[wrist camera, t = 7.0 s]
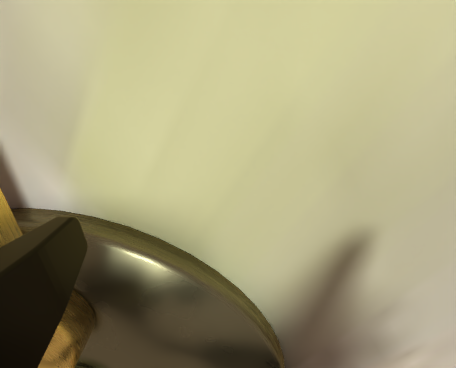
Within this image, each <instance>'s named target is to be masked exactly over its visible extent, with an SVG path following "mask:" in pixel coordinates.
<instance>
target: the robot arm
mask: <svg viewBox="0 0 456 368" xmlns="http://www.w3.org/2000/svg"><path fill="white" fill-rule="evenodd" d="M87 248H88V245H87V240H86V238H85V235H84V232H83V229H82V227H81V224H80V221H79V219H78V218H77V217H75V216H57V217H55V218H53V219H52V220H50V221H48V222H46V223H44V224H42V225H40V226H39V227H37V228H35V229H33V230H31V231H29V232H27V233H26V234H24V235H22V236H20V237H18V238H16V239H15V240H13V241H11V242H9V243H7V244H5V245H3V246H2V247H0V368H38V366H39V364H40V362H41V360H42V358H43V356H44V354H45V352H46V350H47V348H48V346H49V344H50V342H51V339H52V337H53V335H54V333H55V331H56V329H57V327H58V325H59V323H60V321H61V319H62V317H63V314H64V312H65V310H66V307H67V305H68V302H69V300H70V297H71V294H72V292H73V289H74V286H75V283H76V281H77V278H78V275H79V272H80V270H81V267H82V264H83V261H84V259H85V256H86V253H87Z"/></svg>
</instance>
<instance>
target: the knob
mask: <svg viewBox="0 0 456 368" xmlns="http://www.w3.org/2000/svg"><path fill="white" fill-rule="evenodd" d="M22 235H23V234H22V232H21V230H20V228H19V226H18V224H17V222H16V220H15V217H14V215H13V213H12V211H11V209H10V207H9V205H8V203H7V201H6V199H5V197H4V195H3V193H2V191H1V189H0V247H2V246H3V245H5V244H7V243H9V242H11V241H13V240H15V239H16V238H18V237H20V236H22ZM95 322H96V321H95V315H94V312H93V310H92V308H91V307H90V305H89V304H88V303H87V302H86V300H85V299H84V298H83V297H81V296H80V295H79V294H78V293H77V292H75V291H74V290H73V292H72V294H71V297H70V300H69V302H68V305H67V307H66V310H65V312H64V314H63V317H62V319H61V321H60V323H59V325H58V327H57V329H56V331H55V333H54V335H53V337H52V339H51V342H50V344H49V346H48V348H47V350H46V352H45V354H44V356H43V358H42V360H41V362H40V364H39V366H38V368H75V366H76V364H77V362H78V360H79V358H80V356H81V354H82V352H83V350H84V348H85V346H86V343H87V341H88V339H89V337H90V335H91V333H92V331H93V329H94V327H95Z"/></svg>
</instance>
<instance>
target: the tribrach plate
mask: <svg viewBox="0 0 456 368" xmlns="http://www.w3.org/2000/svg"><path fill="white" fill-rule="evenodd" d="M11 211H12V213H13V215H14V217H15V220H16V222H17V224H18V226H19V228H20V230H21V232H22V234H23V235H24V234H26V233H27V232H29V231H31V230H33V229H35V228H37V227H39V226H40V225H42V224H44V223H46V222H48V221H50V220H52V219H53V218H55V217H57V216H75V217H77V218H78V219H79V221H80V224H81V227H82V229H83V232H84V235H85V238H86V240H87V245H88V248H87V253H86V256H85V259H84V261H83V264H82V267H81V270H80V272H79V275H78V278H77V281H76V283H75V286H74V289H73V290H74V291H75V292H77V293H78V294H79V295H80V296H81V297H83V298H84V299H85V300H86V302H87V303H88V304H89V305H90V307H91V308H92V310H93V312H94V315H95V321H96V322H95V327H94V329H93V331H92V333H91V335H90V337H89V339H88V341H87V343H86V346H85V348H84V350H83V352H82V354H81V356H80V358H79V360H78V362H77V364H76V366H75V368H285V367H284V357H283V354H282V350H281V347H280V343H279V341H278V339H277V337H276V335H275V333H274V331H273V329H272V327H271V325H270V324H269V323H268V321H267V320H266V318H265V317H264V316H263V314H262V313H261V312H260V310H259V309H258V308H257V306H256V305H255V304H254V303H253V302H252V301H251V300H250V299H249V298H248V297H247V296H246V295H245V294H244V293H243V292H242V291H241V290H240V289H239V288H237V287H236V286H235V285H234V284H232V283H231V282H230V281H229V280H227V279H226V278H225V277H224V276H222V275H221V274H220V273H219V272H217V271H216V270H214V269H213V268H211V267H210V266H208V265H207V264H205V263H203V262H202V261H200V260H199V259H197V258H195V257H194V256H192V255H191V254H189V253H187V252H185V251H183V250H181V249H179V248H177V247H175V246H173V245H171V244H169V243H167V242H165V241H163V240H161V239H159V238H156V237H153V236H151V235H148V234H146V233H143V232H141V231H138V230H136V229H133V228H130V227H128V226H124V225H121V224H117V223H114V222H110V221H107V220H103V219H100V218H96V217H92V216H86V215H81V214H75V213H70V212H65V211H57V210H45V209H32V208H19V209H11Z"/></svg>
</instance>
